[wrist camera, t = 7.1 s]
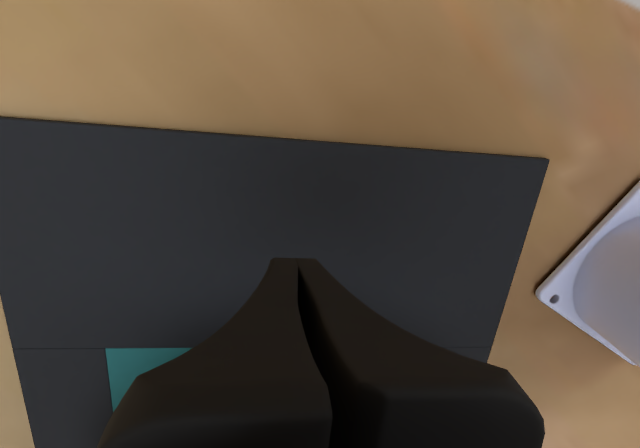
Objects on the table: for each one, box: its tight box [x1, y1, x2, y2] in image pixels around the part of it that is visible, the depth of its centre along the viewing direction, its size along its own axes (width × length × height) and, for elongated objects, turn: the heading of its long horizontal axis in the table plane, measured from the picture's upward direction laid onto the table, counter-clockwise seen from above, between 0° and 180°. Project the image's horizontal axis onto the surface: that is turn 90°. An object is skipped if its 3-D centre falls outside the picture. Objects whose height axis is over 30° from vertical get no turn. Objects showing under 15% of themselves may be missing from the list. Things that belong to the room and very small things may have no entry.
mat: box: [0, 117, 549, 448], centre depth 22 cm, size 31×24×1 cm
